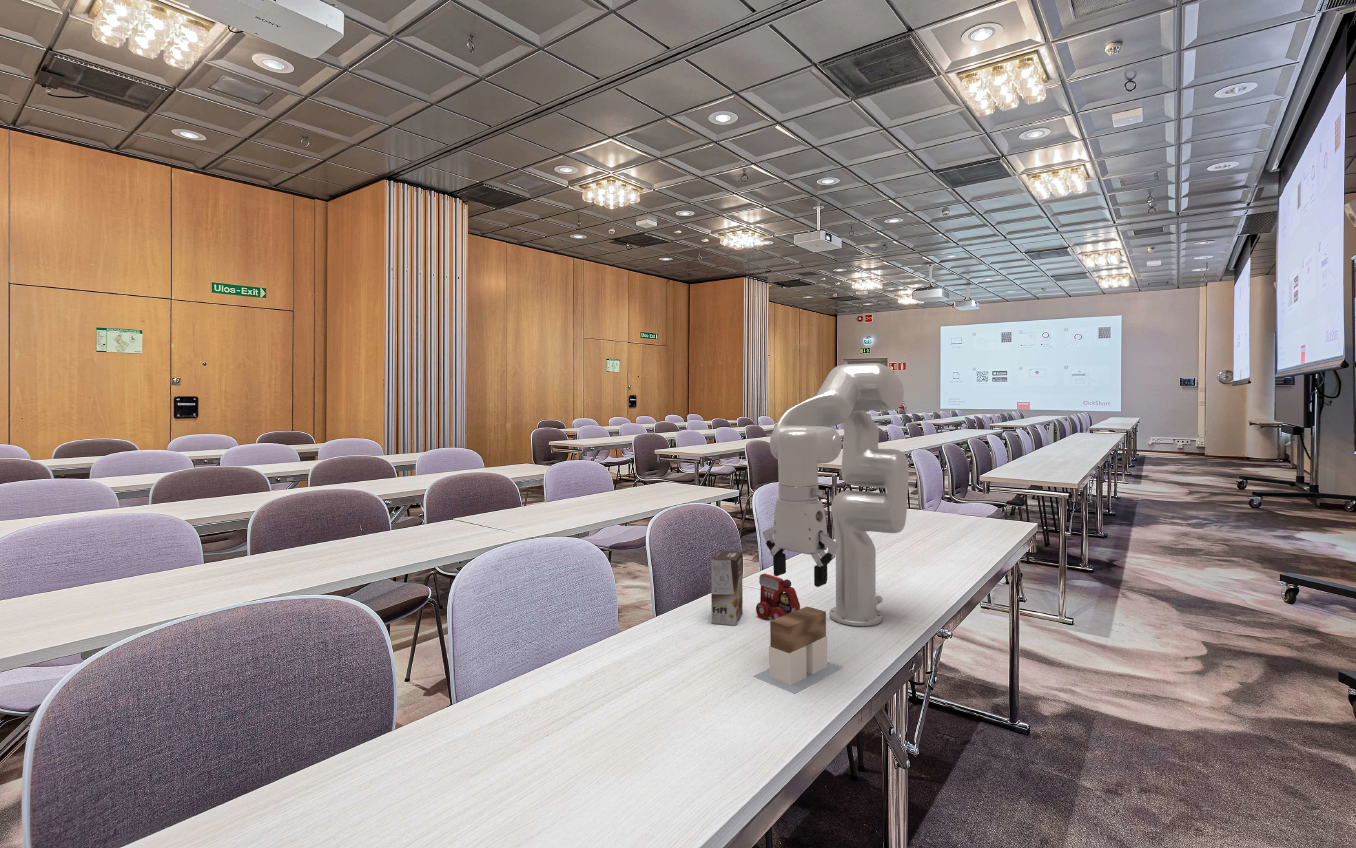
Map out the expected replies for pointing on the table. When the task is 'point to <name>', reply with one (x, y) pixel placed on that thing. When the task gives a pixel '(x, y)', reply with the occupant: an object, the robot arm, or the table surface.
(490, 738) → the table surface
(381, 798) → the table surface
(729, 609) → the coffee box
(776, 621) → the walnut beam
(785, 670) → the cream pillar
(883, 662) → the table surface
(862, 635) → the table surface
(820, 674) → the slate board
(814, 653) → the cream pillar
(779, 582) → the toy fire truck
